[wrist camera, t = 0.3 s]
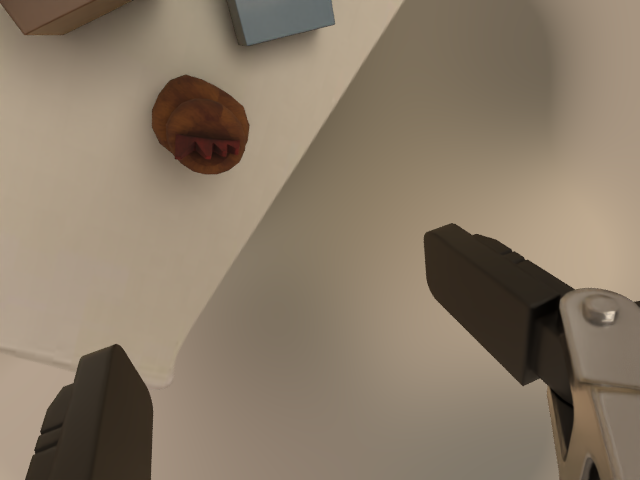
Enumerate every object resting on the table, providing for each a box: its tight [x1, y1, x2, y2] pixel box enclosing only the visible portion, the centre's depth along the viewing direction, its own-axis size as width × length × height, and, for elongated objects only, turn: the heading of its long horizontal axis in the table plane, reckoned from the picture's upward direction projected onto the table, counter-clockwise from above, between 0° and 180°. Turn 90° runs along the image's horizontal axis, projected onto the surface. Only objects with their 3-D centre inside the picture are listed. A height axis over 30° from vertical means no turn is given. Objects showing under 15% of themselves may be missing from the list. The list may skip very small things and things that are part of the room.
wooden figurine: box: [152, 75, 249, 174], centre depth 28 cm, size 7×6×15 cm
